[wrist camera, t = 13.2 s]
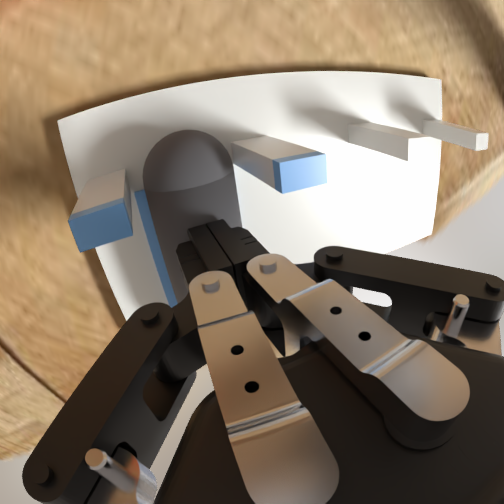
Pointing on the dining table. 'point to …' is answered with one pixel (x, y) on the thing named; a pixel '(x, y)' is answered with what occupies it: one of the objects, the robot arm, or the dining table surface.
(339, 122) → the white peg board
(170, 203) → the dark grey rounded cylinder
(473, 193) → the dining table surface
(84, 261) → the dining table surface
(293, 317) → the robot arm
